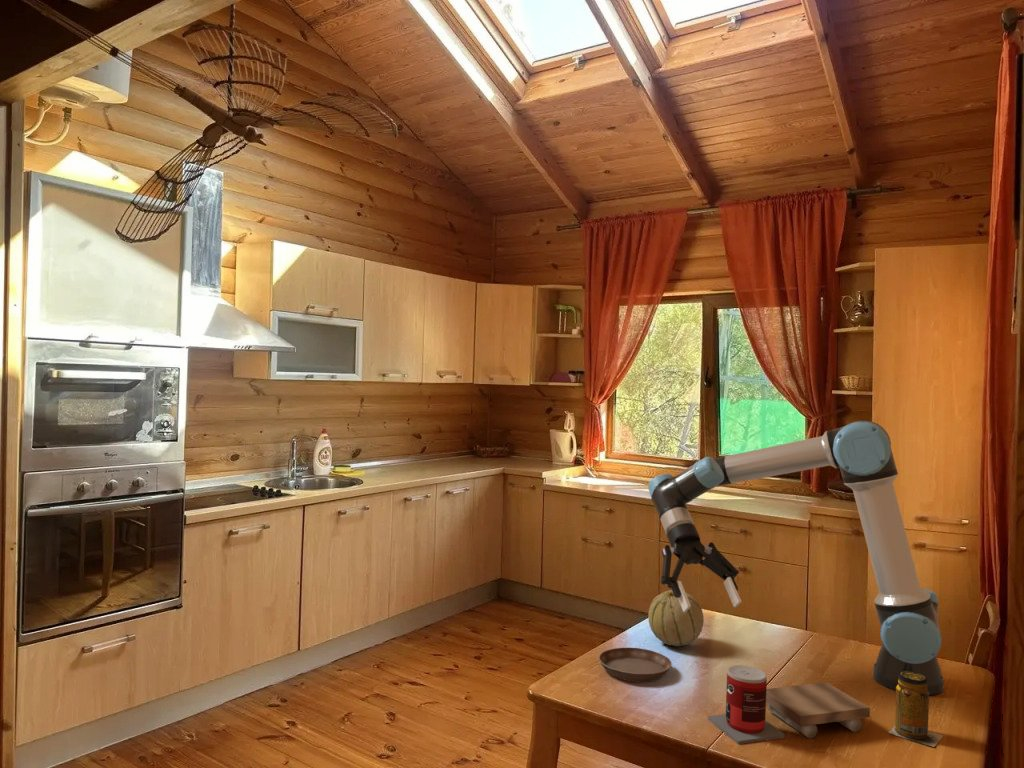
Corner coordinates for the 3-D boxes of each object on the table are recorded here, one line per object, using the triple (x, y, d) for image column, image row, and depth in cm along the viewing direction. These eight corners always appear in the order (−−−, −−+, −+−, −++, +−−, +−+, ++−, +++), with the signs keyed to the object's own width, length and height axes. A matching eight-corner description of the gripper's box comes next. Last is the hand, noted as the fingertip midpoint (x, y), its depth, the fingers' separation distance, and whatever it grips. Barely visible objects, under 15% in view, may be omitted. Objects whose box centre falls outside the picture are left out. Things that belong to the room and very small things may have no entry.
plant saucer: (603, 654, 193) (604, 642, 193) (673, 663, 188) (673, 651, 188) (593, 680, 176) (593, 668, 176) (669, 690, 171) (669, 677, 171)
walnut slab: (825, 704, 166) (826, 682, 166) (869, 731, 153) (869, 707, 153) (760, 712, 161) (761, 689, 161) (800, 741, 148) (800, 716, 148)
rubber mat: (752, 713, 160) (752, 710, 160) (785, 737, 150) (785, 734, 150) (707, 719, 157) (707, 716, 157) (738, 744, 146) (738, 741, 146)
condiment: (898, 722, 158) (900, 666, 158) (943, 736, 152) (945, 678, 152) (887, 733, 152) (889, 676, 152) (933, 748, 147) (935, 688, 147)
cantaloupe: (710, 642, 203) (711, 588, 203) (692, 658, 191) (694, 600, 191) (658, 631, 211) (660, 578, 211) (639, 646, 199) (640, 590, 199)
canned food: (734, 712, 159) (736, 661, 159) (771, 725, 154) (772, 672, 153) (718, 725, 153) (720, 672, 153) (756, 738, 148) (758, 683, 148)
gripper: (717, 535, 193) (751, 610, 179) (630, 540, 186) (659, 619, 171) (729, 519, 188) (765, 594, 174) (641, 523, 181) (671, 603, 166)
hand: (712, 606), depth 173 cm, fingers open, 13 cm apart
